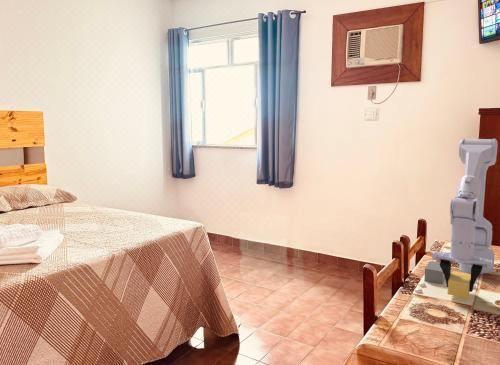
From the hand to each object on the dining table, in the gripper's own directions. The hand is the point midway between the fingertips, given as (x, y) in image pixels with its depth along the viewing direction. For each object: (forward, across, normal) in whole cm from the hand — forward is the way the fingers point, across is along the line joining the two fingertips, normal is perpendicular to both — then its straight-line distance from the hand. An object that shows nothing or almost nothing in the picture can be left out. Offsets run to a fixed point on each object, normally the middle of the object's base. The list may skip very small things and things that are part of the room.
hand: (459, 288), depth 112 cm
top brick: (+1, 0, 0) cm, 1 cm away
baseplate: (+3, -4, +5) cm, 7 cm away
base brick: (+2, -8, +10) cm, 13 cm away
